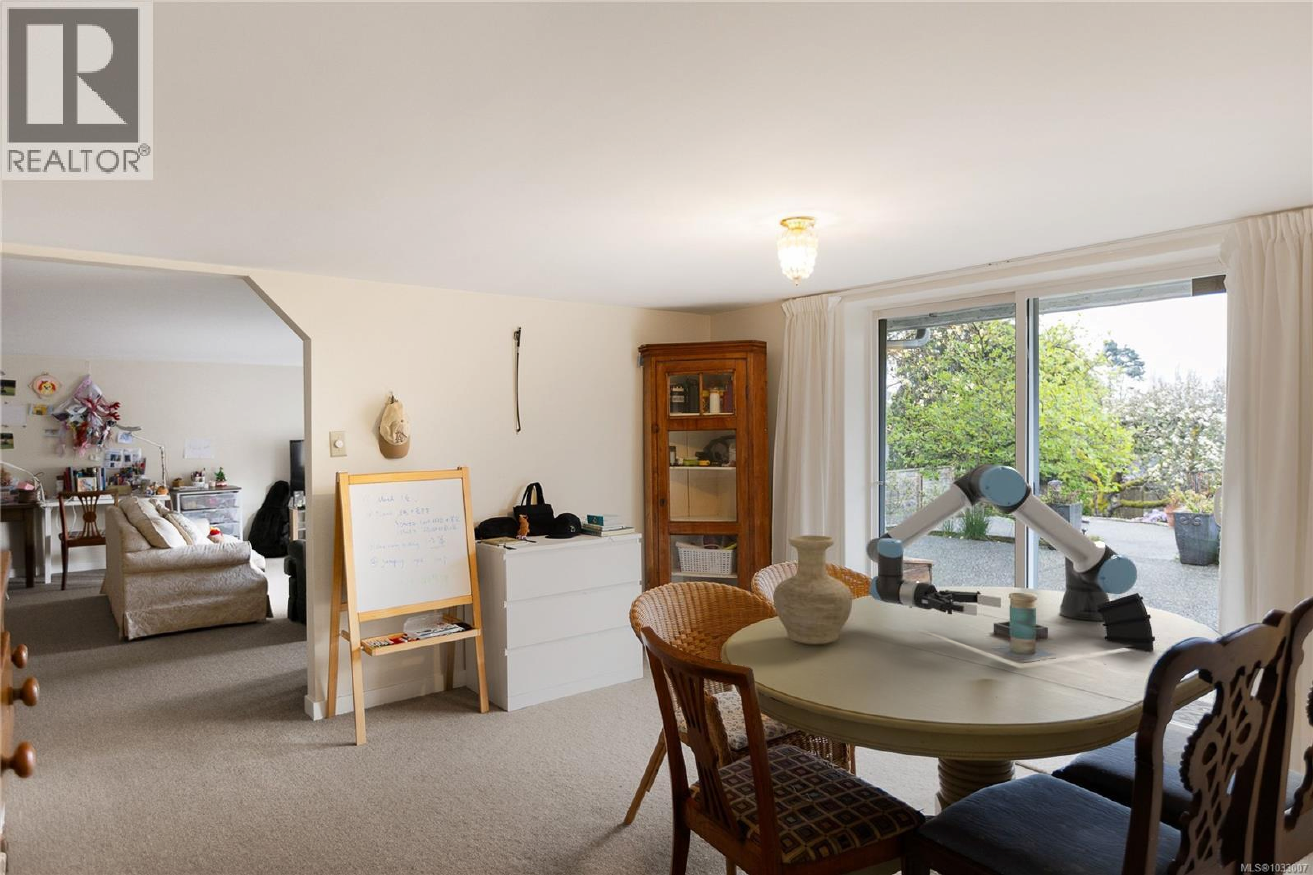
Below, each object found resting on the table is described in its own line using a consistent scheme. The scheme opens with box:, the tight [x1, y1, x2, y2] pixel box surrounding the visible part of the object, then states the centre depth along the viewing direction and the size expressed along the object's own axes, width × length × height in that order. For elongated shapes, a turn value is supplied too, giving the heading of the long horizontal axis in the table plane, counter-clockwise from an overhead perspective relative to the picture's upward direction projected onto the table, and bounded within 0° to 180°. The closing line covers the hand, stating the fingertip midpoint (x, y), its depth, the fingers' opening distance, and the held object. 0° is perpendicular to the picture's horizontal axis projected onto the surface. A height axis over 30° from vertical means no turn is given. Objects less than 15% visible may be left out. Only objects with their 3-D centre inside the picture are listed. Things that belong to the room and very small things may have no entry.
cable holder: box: [988, 620, 1054, 642], centre depth 224 cm, size 12×12×4 cm
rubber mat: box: [992, 645, 1057, 664], centre depth 209 cm, size 11×11×1 cm
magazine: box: [1097, 592, 1156, 653], centre depth 215 cm, size 4×13×15 cm, turn 40°
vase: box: [772, 534, 853, 645], centre depth 226 cm, size 22×22×30 cm
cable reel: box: [1008, 592, 1038, 654], centre depth 209 cm, size 7×7×15 cm
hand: (988, 606), depth 216 cm, fingers open, 13 cm apart
